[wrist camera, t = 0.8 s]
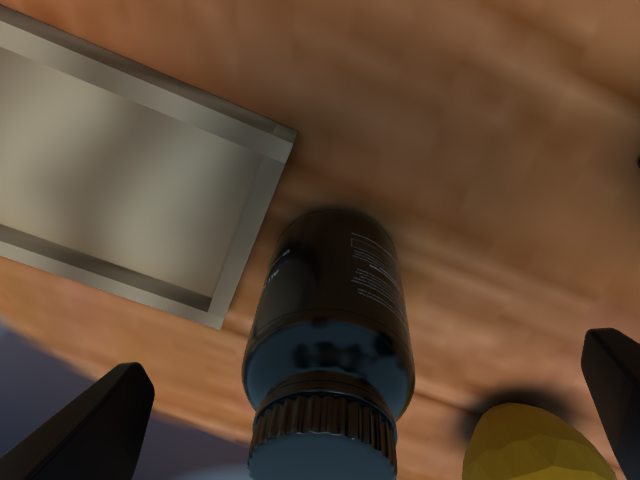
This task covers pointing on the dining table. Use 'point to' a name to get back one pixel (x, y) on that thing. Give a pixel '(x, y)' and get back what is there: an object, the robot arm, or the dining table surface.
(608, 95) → the dining table surface
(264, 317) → the supplement bottle
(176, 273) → the metal tray
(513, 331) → the dining table surface
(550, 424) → the apple
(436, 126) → the dining table surface
